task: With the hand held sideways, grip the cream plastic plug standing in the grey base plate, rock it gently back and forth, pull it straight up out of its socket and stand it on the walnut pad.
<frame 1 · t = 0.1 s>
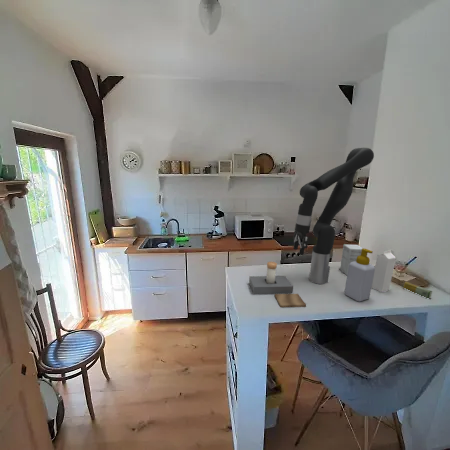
hand: (298, 252, 136), 17 cm above the worktop, tool pointing down, fingers open, 8 cm apart
grey base plate: (269, 288, 131), on the worktop
plug: (271, 275, 129), in the grey base plate
pad: (289, 301, 119), on the worktop
medication box: (416, 293, 131), on the worktop
supplement box: (350, 272, 154), on the worktop
soap bottle: (356, 296, 126), on the worktop
milk: (379, 289, 134), on the worktop
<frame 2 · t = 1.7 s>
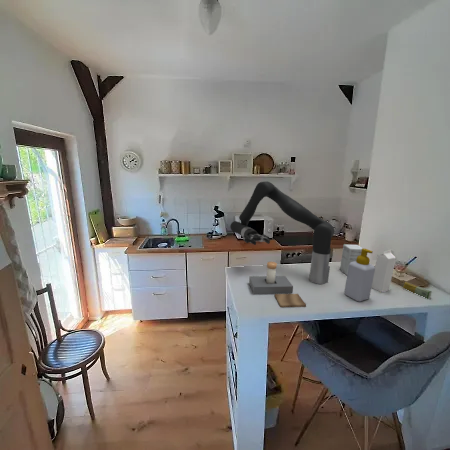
hand: (262, 242, 136), 22 cm above the worktop, tool horizontal, fingers open, 8 cm apart
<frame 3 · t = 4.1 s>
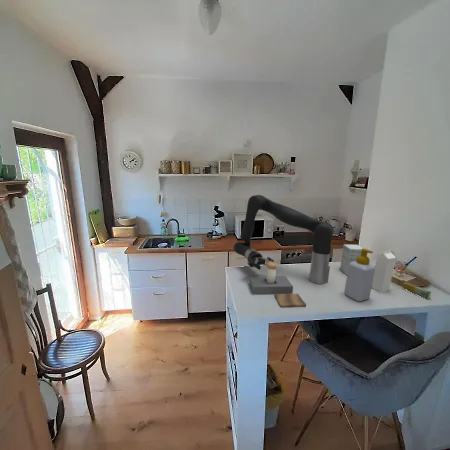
hand: (267, 267, 132), 10 cm above the worktop, tool horizontal, fingers open, 8 cm apart
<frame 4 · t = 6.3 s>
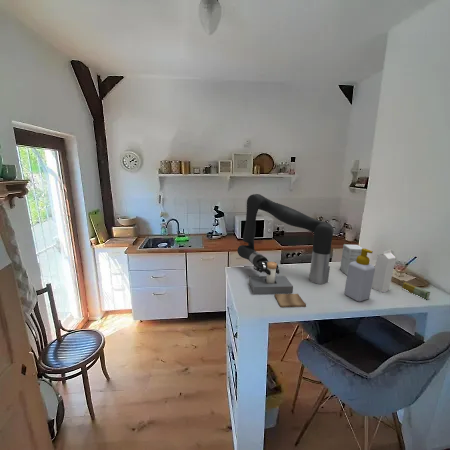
hand: (274, 272, 126), 10 cm above the worktop, tool horizontal, fingers closed on plug, 4 cm apart
plug: (271, 275, 129), in the grey base plate, touching gripper
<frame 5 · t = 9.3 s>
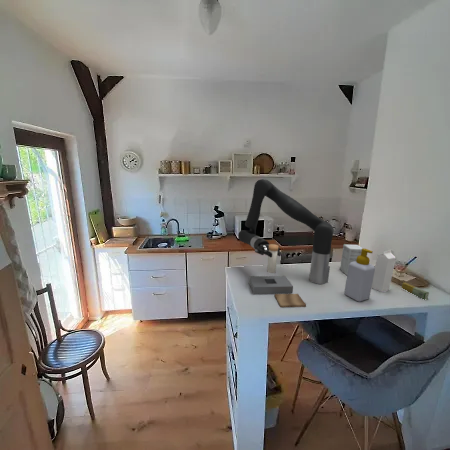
hand: (275, 254, 124), 20 cm above the worktop, tool horizontal, fingers closed on plug, 4 cm apart
plug: (272, 258, 127), point 17 cm above the worktop, touching gripper
when the fingers open (12 cm above the worktop, at t = 12.6 s): plug drops 1 cm, resting on pad.
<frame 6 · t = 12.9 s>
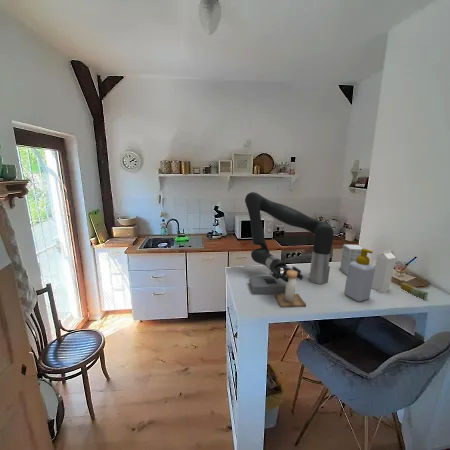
hand: (295, 279, 114), 13 cm above the worktop, tool horizontal, fingers open, 7 cm apart
plug: (290, 285, 117), on the pad, point 8 cm above the worktop
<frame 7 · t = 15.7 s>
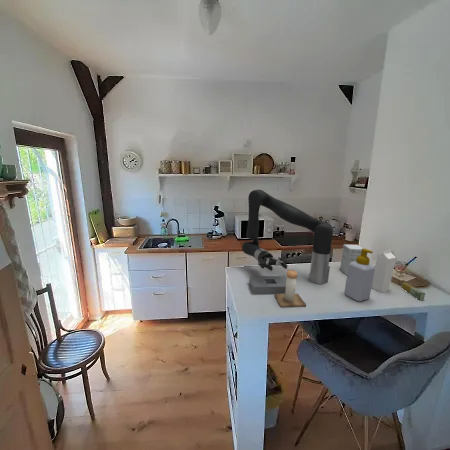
hand: (279, 268, 126), 12 cm above the worktop, tool horizontal, fingers open, 8 cm apart
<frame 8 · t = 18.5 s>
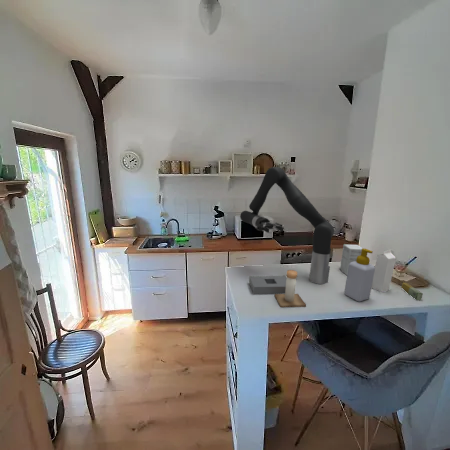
hand: (275, 230, 130), 30 cm above the worktop, tool horizontal, fingers open, 8 cm apart
at the end: plug inside the target area on the pad (0.3 cm from its centre), point 8.0 cm above the pad's base; plug tilted 0°; the gripper is holding nothing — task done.
